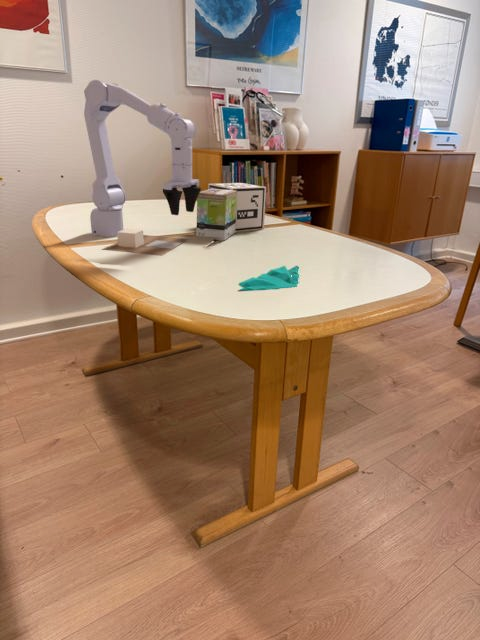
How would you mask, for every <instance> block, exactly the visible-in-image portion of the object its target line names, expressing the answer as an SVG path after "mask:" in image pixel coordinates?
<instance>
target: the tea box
mask: <svg viewBox="0 0 480 640" xmlns="http://www.w3.org/2000/svg"><path fill="white" fill-rule="evenodd" d="M236 209H237V191H236V190H225V189H204V190H203V191H200V193H199V194H198V197H197V199H196V233H195V234H196V237H202V238H203V237H205V238H214V239H213V241H221V242H222V241H223V242H224V241H226V240H227V239H228V238H230V237H231V236H232V235H234V234H235V233H236V232H235V229H236Z"/></svg>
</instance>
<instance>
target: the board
mask: <svg viewBox="0 0 480 640" xmlns="http://www.w3.org/2000/svg"><path fill="white" fill-rule="evenodd" d="M143 238H144V244H142V245H140V246H138V247H136V248H133V247H122V246H118V242H116V243H114V244H111V245H109V246H106V247H104V248H101V250H102V251H103V250H104V251H112V252H121V253H132V254H141V255H151V256H152V255H154V256H164V255H166V254H167V253H169V252H170V251H173V250H174V249H175V248H177V247H179V246H181V245H183V244H184V243H186V242H187V241H190V238H181V237H180V238H179V237H171V236H169V237H168V236H159V235H148V234H143Z"/></svg>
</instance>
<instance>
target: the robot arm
mask: <svg viewBox="0 0 480 640" xmlns="http://www.w3.org/2000/svg"><path fill="white" fill-rule="evenodd" d="M83 92H84V97H85V103H84V109H83V110H84V111H83V113H84V114H83V116H84V120H85V126H86V131H87V136H88V140H89V145H90V151H91V156H92V160H93V166H94V170H95V175H96V176H95V177H96V178H95V180H94V181H93V183H92V195H91V196H92V197H91V199H92V202H93V204H94V206H95V208H93V209H92V210H91V212H90V216H89V217H90V218H89V219H90V220H89V221H90V229H91V230H90V231H91V235H92V236H100V237H106V238H116V237H117V238H118V236H117V232H119V231H122V230H124V229H125V228H124V217H123V215H124V214H123V213H124V212H123V206H124V204H125V202H126V201H127V194H126V192H125V190H124V188H123V186H122V182H121V180H120V179H119V178H118V177H117V176H116V173H115V168H114V167H115V166H114V162H113V158H112V151H111V146H110V141H109V135H108V131H107V125H106V119H107V118H108V116H109V115H110V114H111V113H112V112H114V111H115V110H117V109H118V108H119V107H120V106H122V105H123V106H127V107H129V108H131V109H132V110H134V111H135V112H136V111H137V112H139V113H140V114H142V115H144V116H146V118H147V122H148V123H149V124H150V125H151V126H154V127H156V129H157V128H158V130H160V131H163V132H164V133H166V134H167V135H168V136H169V138H170V140H171V141H170V142H171V179H172V180H169V181H164V182H163V188H162V193H163V195H164V197H165V198H166V200H167V204H168V207H169V211H170V215H173V216H179V214H180V213H179V212H180V203H181V198H182V195H183V196H184V201H185V202H184V203H185V211H186V212H189V213H194V210H195V205H196V204H197V197H198V194H199V193H200V192H201V190H202V188H201V186H200V179H198V178H197V179H196V178H195V179H194V178H193V138H194V137H195V135H196V125H195V124H194V123H193V121H192V120H191V119H190V118H186V117H183V118H181V117H182V116H181V114H180V113H179V112H174V111H172V110H171V109H169V108H167V105H166V104H165V103H163V102H162V103H157V102H155V103H154V104H150V103H149V102H148V101H146V100H145V99H143V98H141V97H140V96H138V95H137V94H135V93H134V92H132V91H131V90H129V89H127V88H126V87H123V86H121V85H118V84H117V83H113V82H112V83H110V82H105V81H101V80H99V79H93V80H90V81H89V82H88V84H87V85H86V87H85V89H84V90H83ZM178 189H182V190H178Z"/></svg>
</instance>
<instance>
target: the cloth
mask: <svg viewBox="0 0 480 640" xmlns="http://www.w3.org/2000/svg"><path fill="white" fill-rule="evenodd" d="M299 268H300V267H299V265H295V266H293V267H292V268H290V269H289V268H288V269H287V266H286V265H283V266H280V267H276V268H273V269H270V270H269V271H267V272H266V273H261V274H260V275H258V276H257V277H251V278H248V279H246V280H244V281H243V280H242V281H241V282H239V283H238V284H237V285H238V286H239V287H240V289H238V290H237V292H246V291H247V292H251V291H266V290H267V291H268V290H280V289H291V288H292V287H293V288H297V287H298V285H299V284H298V283H300V281H299V282H298V280H299V279H300V273H299V272H300V270H299ZM298 271H299V272H298ZM298 273H299V274H298ZM291 275H292V277H291ZM298 278H299V279H298Z"/></svg>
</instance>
